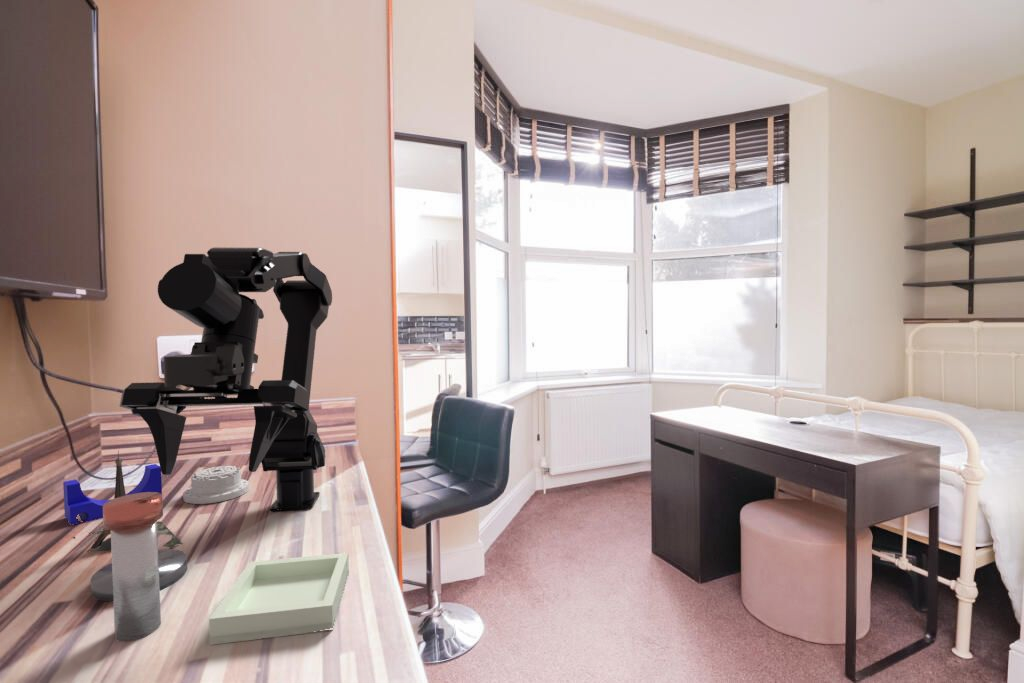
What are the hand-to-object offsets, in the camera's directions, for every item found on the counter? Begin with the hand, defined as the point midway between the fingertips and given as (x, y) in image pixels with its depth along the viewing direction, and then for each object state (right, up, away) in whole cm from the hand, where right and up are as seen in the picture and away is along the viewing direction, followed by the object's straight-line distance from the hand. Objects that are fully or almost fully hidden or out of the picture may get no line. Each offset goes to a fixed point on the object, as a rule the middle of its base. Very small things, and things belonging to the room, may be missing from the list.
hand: (209, 473), depth 54 cm
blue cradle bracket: (-31, -13, +25) cm, 41 cm away
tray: (+10, -13, -2) cm, 17 cm away
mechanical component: (-18, -13, +32) cm, 39 cm away
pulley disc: (-10, -13, +3) cm, 17 cm away
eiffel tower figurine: (-20, -14, +13) cm, 28 cm away
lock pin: (-3, -14, -6) cm, 15 cm away
